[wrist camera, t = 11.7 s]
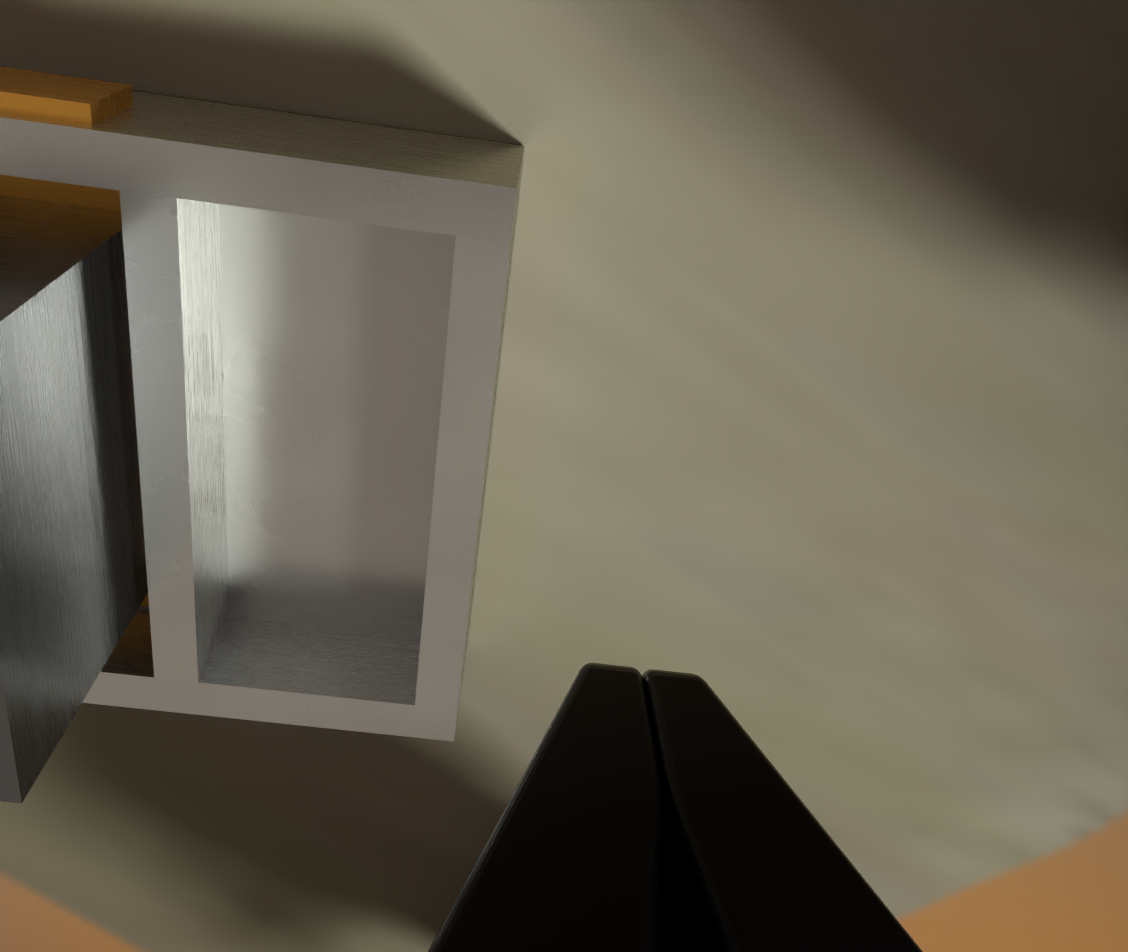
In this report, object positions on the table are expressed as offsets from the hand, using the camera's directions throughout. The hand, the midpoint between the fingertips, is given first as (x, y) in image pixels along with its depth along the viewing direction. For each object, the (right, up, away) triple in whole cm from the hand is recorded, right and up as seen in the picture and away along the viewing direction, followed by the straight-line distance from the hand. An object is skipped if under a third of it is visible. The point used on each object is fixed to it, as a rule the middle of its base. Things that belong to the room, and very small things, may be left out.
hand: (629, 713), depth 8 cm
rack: (-9, +4, +12) cm, 16 cm away
